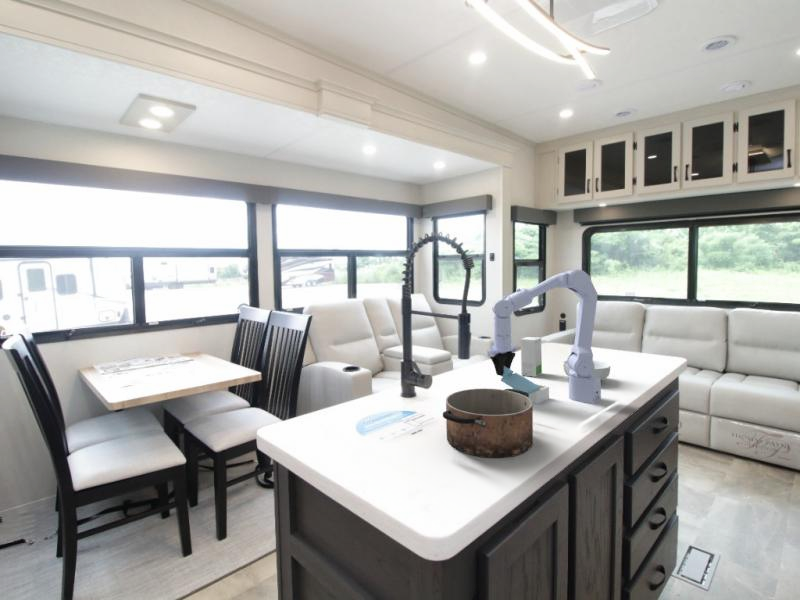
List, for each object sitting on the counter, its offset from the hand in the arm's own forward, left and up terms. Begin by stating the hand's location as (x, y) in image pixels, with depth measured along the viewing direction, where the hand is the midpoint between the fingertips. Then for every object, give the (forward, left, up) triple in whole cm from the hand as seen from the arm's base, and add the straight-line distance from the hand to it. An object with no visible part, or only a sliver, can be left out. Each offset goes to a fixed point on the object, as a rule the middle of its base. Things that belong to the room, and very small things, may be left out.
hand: (502, 374), depth 141 cm
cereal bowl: (-10, -42, -9) cm, 44 cm away
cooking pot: (-16, +31, -9) cm, 36 cm away
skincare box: (+11, -37, -9) cm, 39 cm away
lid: (-5, 0, -2) cm, 5 cm away
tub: (-7, -6, -9) cm, 13 cm away
